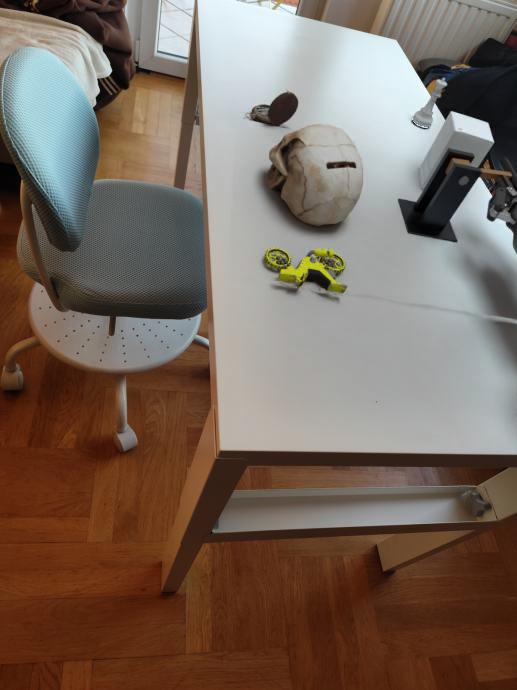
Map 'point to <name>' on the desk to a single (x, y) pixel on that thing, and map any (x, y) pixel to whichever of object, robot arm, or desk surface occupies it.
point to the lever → (491, 174)
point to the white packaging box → (457, 143)
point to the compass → (276, 110)
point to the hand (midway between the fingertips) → (508, 182)
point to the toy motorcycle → (309, 268)
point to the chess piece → (429, 106)
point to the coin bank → (317, 173)
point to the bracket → (440, 198)
